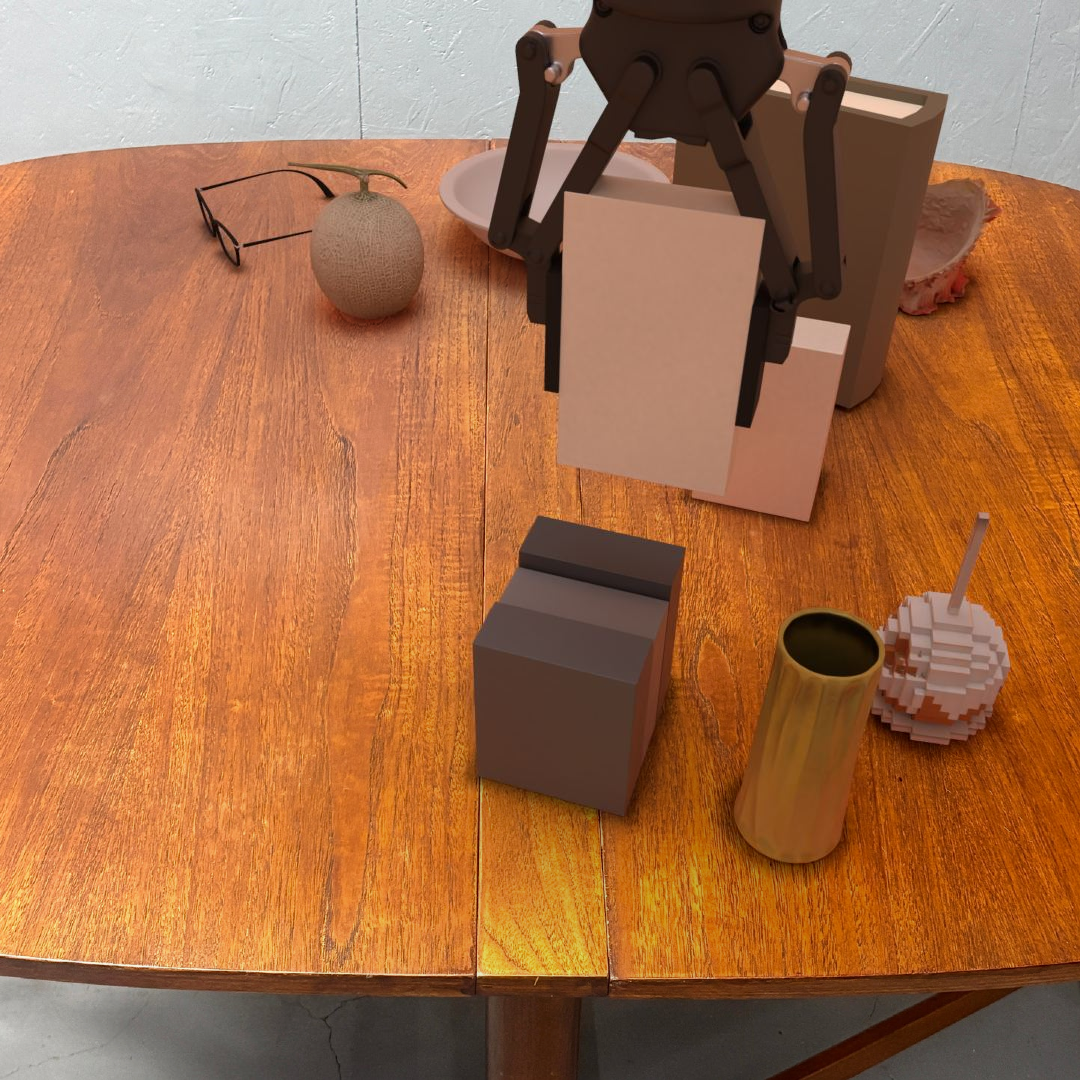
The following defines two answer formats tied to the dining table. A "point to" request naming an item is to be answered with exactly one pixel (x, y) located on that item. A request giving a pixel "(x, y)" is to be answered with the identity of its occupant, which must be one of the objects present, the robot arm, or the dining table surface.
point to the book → (850, 205)
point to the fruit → (366, 249)
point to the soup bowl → (478, 177)
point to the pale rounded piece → (942, 660)
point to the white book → (655, 331)
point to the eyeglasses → (216, 225)
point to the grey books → (576, 663)
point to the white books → (789, 426)
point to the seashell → (945, 243)
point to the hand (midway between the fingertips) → (651, 395)
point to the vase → (809, 734)
